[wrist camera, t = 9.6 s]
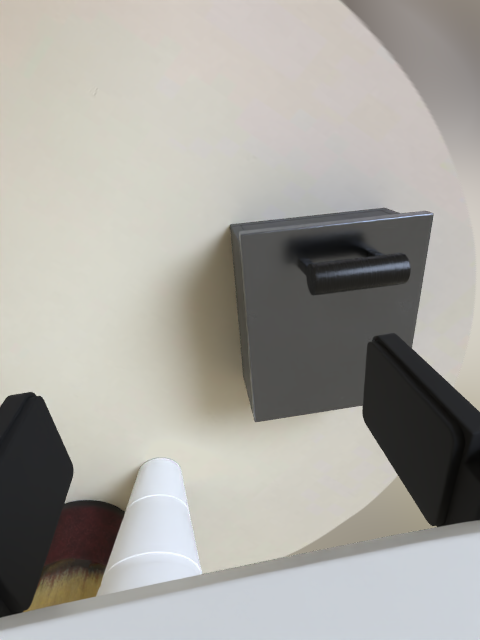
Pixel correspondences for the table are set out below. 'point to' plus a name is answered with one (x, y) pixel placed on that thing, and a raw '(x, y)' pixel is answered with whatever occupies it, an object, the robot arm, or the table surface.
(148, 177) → the table surface
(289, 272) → the lid
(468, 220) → the table surface
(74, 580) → the vase
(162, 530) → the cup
